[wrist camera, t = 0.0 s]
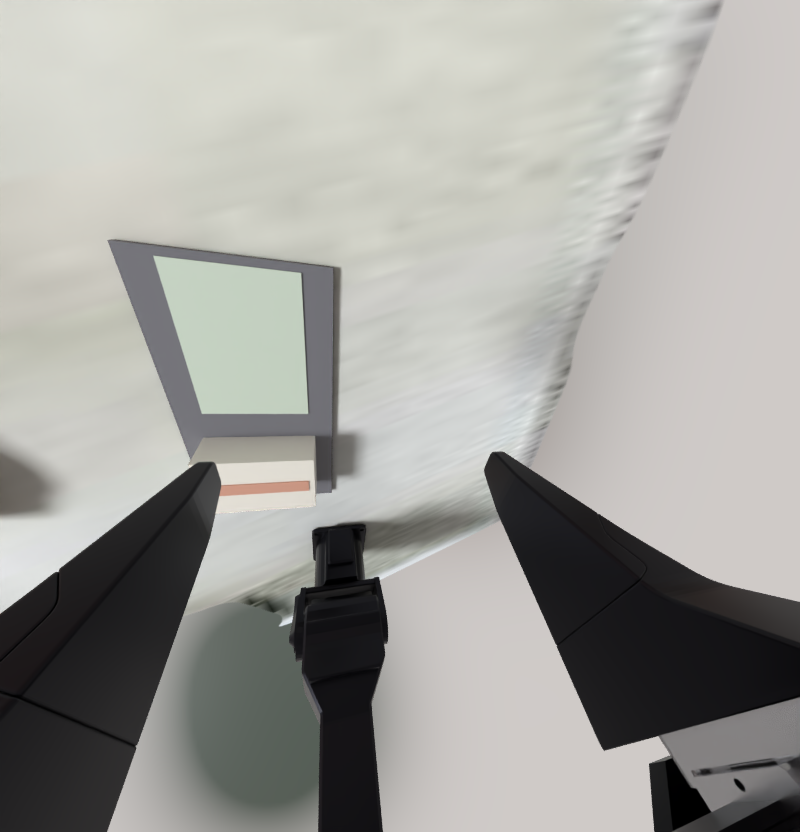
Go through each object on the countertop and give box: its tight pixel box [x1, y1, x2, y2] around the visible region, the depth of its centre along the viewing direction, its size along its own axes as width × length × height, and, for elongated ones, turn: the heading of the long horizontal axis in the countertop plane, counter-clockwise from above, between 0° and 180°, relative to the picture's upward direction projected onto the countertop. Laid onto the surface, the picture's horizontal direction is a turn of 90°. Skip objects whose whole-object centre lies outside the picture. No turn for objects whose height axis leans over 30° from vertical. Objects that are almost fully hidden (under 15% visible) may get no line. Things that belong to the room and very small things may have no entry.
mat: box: [108, 240, 333, 494], centre depth 23 cm, size 22×12×1 cm, turn 172°
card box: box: [188, 436, 317, 514], centre depth 25 cm, size 6×9×3 cm, turn 82°
